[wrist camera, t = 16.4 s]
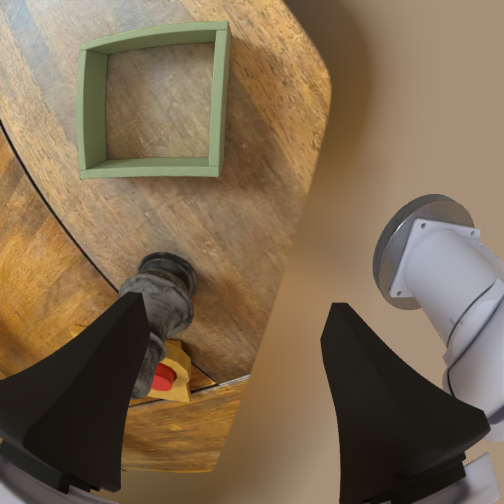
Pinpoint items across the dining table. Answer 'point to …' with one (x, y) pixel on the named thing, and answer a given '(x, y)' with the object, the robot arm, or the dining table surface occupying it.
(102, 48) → the green square tray
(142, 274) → the chess piece
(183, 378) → the control block
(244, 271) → the dining table surface
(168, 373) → the stop button
